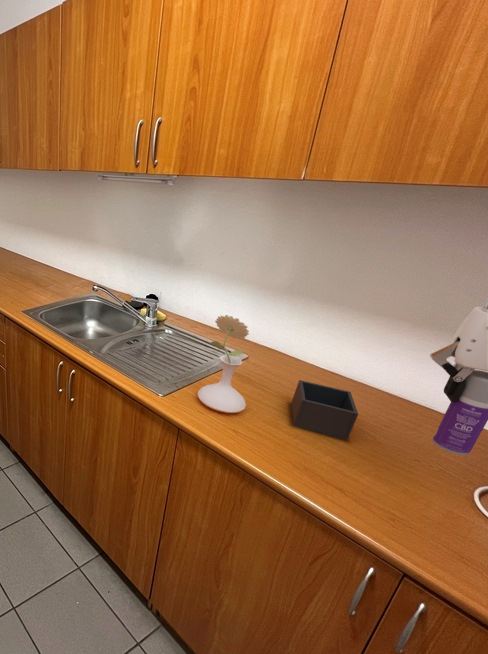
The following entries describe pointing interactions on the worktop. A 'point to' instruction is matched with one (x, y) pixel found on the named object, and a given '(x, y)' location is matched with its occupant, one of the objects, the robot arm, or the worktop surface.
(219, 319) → the flower in vase
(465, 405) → the container
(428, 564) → the worktop surface
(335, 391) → the bin
